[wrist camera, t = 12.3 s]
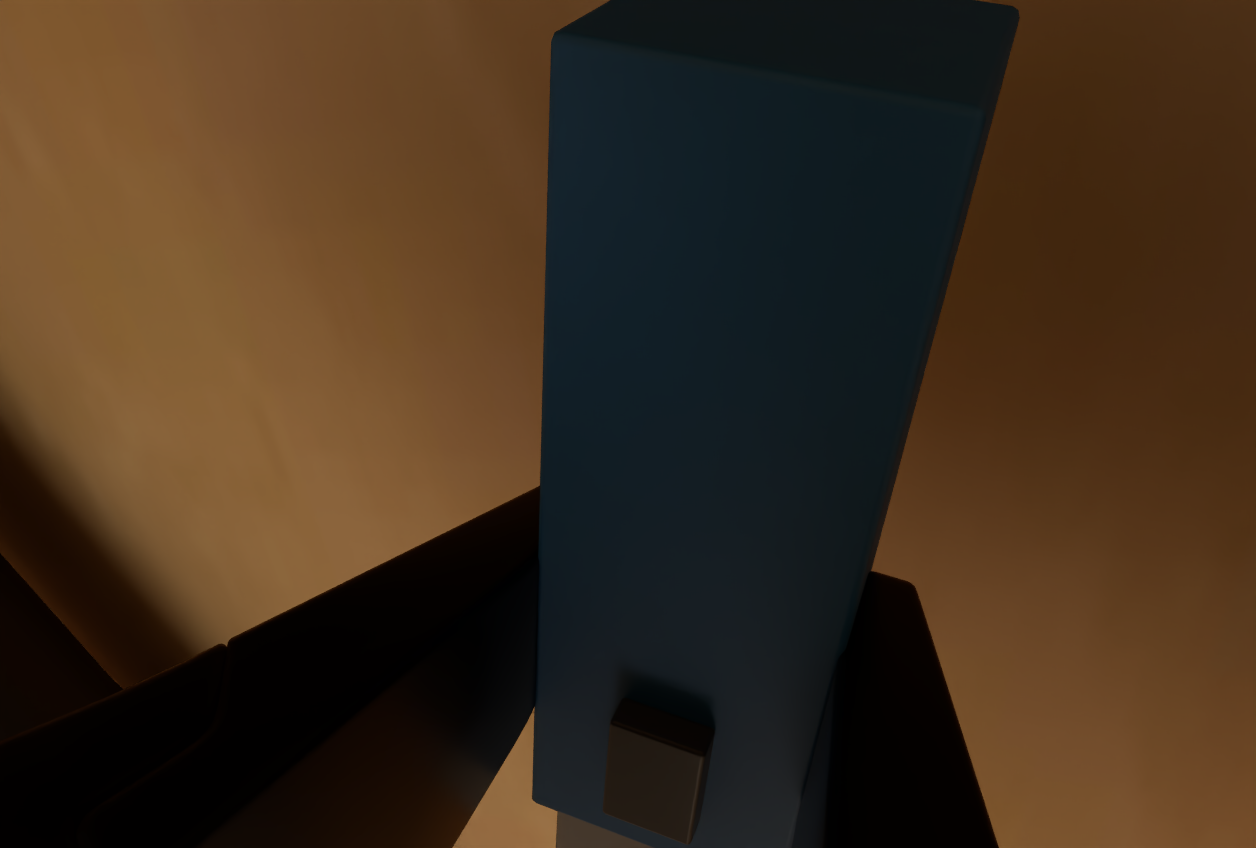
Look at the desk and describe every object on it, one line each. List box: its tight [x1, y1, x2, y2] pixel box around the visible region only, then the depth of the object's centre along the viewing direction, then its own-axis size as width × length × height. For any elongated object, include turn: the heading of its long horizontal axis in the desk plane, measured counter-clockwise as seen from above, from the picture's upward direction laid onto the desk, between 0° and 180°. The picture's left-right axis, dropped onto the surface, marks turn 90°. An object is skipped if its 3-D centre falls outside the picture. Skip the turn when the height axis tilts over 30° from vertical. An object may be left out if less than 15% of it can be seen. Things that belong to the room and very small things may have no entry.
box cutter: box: [532, 0, 1020, 848], centre depth 9 cm, size 10×2×3 cm, turn 175°
